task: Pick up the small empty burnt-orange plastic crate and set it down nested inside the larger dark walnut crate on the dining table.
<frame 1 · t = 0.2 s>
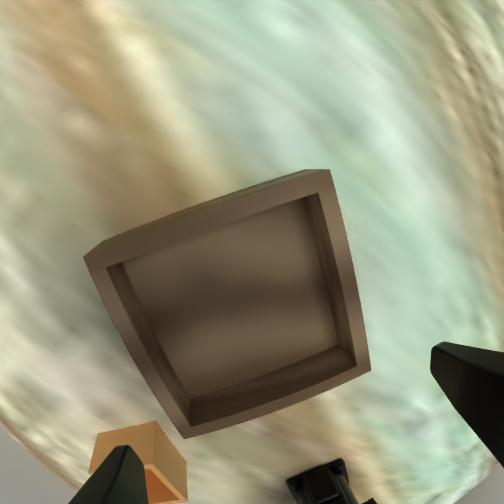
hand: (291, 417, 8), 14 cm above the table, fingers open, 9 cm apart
small crate: (142, 448, 24), on the table
walnut crate: (237, 301, 22), on the table
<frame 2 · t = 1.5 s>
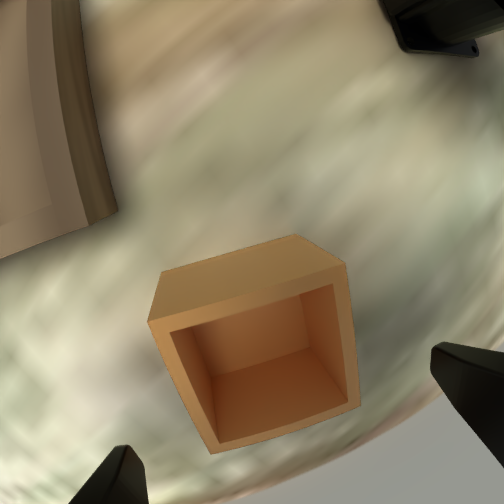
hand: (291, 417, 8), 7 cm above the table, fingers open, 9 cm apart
small crate: (246, 313, 15), on the table
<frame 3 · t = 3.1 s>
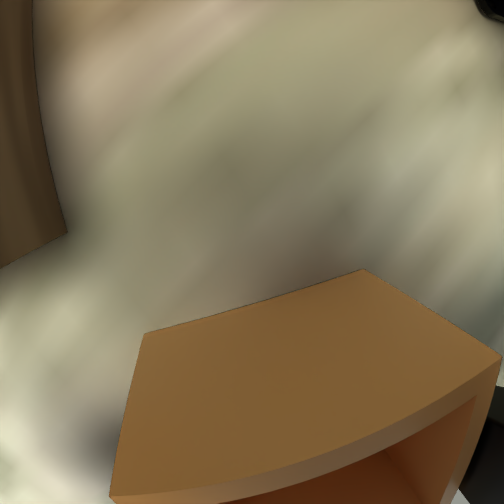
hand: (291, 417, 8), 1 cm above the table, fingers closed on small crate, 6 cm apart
small crate: (280, 391, 9), on the table, touching gripper
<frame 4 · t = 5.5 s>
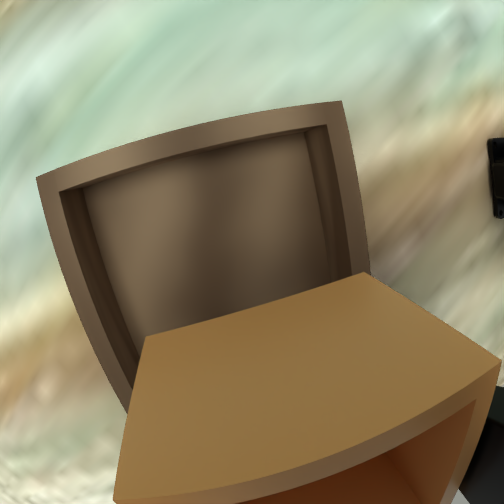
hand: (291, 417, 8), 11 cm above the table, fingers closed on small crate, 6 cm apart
small crate: (281, 393, 9), point 10 cm above the table, touching gripper
walnut crate: (218, 263, 18), on the table
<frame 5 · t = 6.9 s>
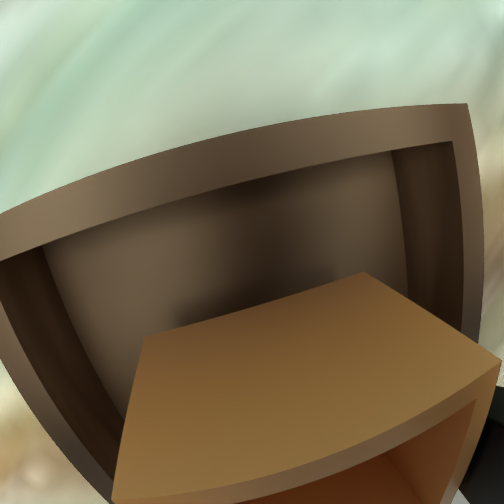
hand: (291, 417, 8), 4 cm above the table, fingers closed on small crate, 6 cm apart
small crate: (280, 392, 9), point 3 cm above the table, touching gripper
walnut crate: (258, 343, 12), on the table
when the fingers open (3 cm above the table, at t = 7.9 s): small crate drops 1 cm, resting on walnut crate.
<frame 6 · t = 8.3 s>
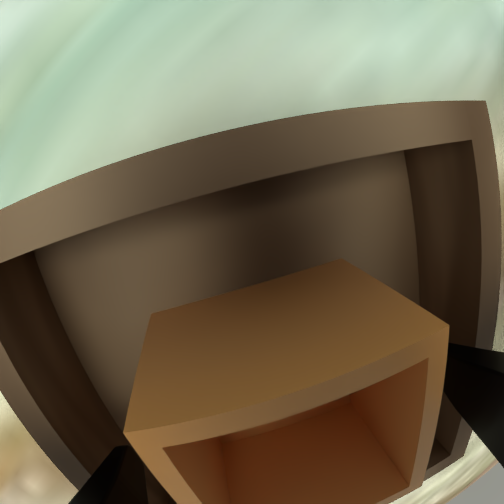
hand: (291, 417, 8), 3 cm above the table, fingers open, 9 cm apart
small crate: (270, 367, 10), point 1 cm above the table, touching walnut crate
walnut crate: (263, 353, 11), on the table
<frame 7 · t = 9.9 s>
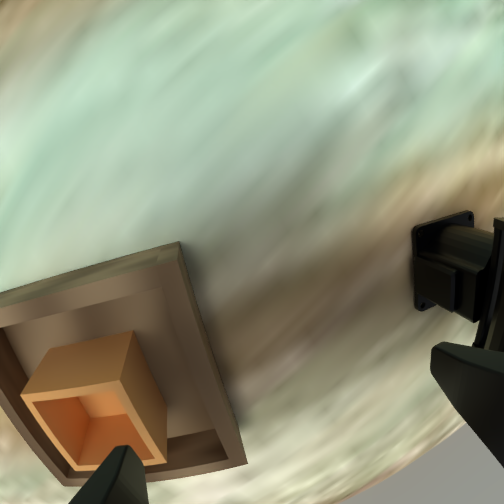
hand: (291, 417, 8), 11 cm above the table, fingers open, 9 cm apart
small crate: (107, 380, 18), point 1 cm above the table, touching walnut crate
walnut crate: (108, 372, 18), on the table
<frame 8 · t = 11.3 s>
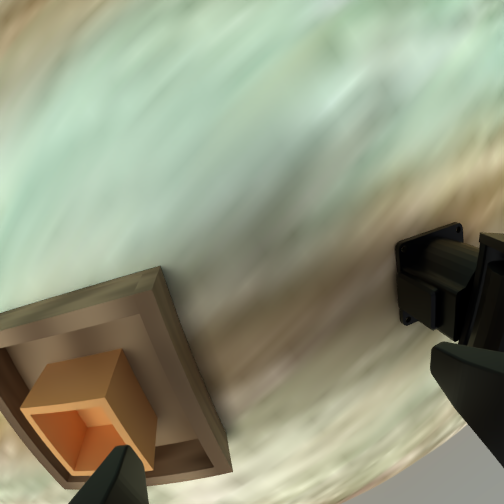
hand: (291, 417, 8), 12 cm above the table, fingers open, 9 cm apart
small crate: (101, 393, 19), point 1 cm above the table, touching walnut crate
walnut crate: (102, 385, 19), on the table
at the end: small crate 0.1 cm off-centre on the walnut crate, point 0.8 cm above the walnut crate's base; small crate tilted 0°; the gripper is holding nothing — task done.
